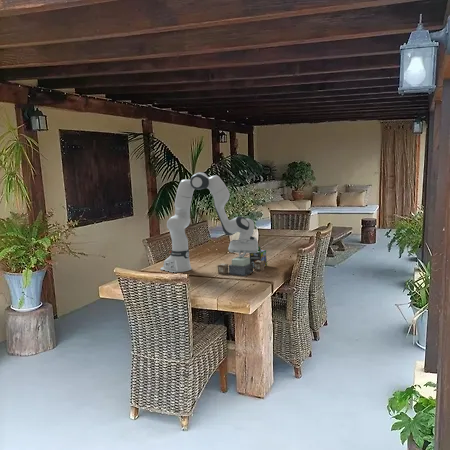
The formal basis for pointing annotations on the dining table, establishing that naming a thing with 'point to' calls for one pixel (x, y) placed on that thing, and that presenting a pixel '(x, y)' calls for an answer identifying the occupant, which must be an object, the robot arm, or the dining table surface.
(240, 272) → the gray tray
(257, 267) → the walnut block right
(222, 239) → the dining table surface
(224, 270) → the walnut block left
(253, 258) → the chalk box
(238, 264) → the plain block
